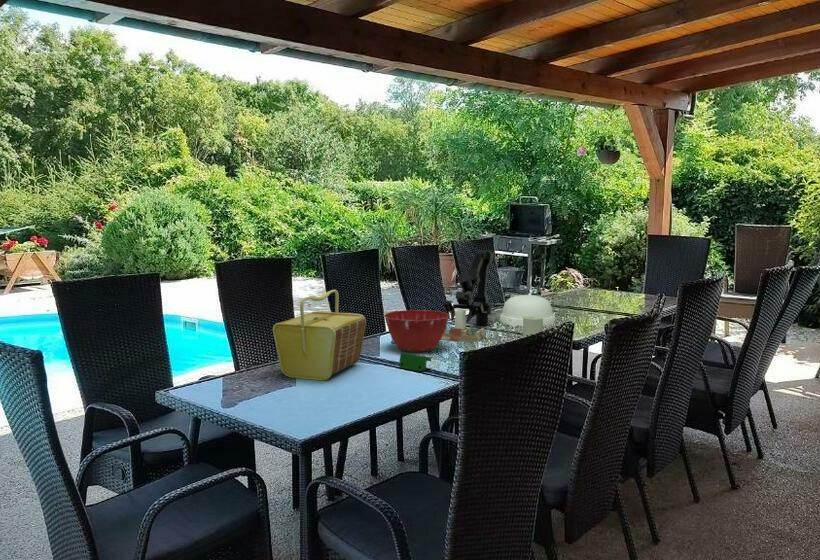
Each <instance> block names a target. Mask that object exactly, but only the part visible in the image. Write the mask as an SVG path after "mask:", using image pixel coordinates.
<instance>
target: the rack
mask: <svg viewBox="0 0 820 560" xmlns="http://www.w3.org/2000/svg"><path fill="white" fill-rule="evenodd" d="M472 330H473V329H472V327H471V326H470V327H469V326H468V327H466V330H464V331H462V329H459V328H455V327H450V328H449V330H448V333H447V327H446V328H445V331H444V333H443V335H442V338H441V340H440V341H447V342H449V341H450V342H458V341H466V342H465V343H469V342H477V341H479V340H480V341H482V340H483V339H485V328H484V327H481V329H479V330H477V331H476V332H474V335H472V334H473V333H472ZM482 338H483V339H482ZM481 339H482V340H481ZM480 341H479V342H480ZM477 343H478V342H477Z"/></svg>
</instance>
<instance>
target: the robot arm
mask: <svg viewBox="0 0 820 560" xmlns="http://www.w3.org/2000/svg"><path fill="white" fill-rule="evenodd" d="M493 260H494V253H493V252H492V251H491V250H476V251H475V252H474V256H473V260H472V262H471V265H470V267H469V269H468V270H467V271H463V272H462V273H460V274H459V275H458V276H457V282H458V284H459V286H460V289H461V291H456V292H455V299H456V302H457V303H454V302H453V301H452V300H444V301H443V308H444V310H445V312H446V313H448V312H449V313H450V320H451V322H454V321H455V311H456V310H455V309H459V310H468V314H467V317H466V324H467V323H469V322H470V321H471V320H472V319H473V318H474V317H475V323H473V324H472V325H473V326H477V327H487V326H488V325H489V326H491V324H489V317H488V315H491V314H492V308H491V305H490V303H489V298H488V296H487V287H488V277H489V276H488V274H489V267H491V265H492V263H493ZM475 286H477V292H476V295H475V296H474V294H475V289H476V288H475Z"/></svg>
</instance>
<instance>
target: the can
mask: <svg viewBox="0 0 820 560" xmlns="http://www.w3.org/2000/svg"><path fill="white" fill-rule="evenodd" d="M541 330H543V331H544V326H543V317H540V316H524V317H523V326H522V337H523V336H526V335H530V334H533V333H536V332H539V331H541Z"/></svg>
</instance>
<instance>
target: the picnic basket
mask: <svg viewBox="0 0 820 560" xmlns="http://www.w3.org/2000/svg"><path fill="white" fill-rule="evenodd" d="M333 293H334V294H335V300H334V301H335V302H334V304H335V305H334V306H335V307H334V312H333V311H320V310H319V311H318V310H317V311H310V312H309V313H306V314H305V309H304V305H305V302H306V301H309V300H311V301H313V302H320V301H323V300H325V299H327V298H328V297H329V296H330V295H331V294H333ZM339 297H340V296H339V291H338V290H337V289H331V290H329V291H327V292H325V293H323V294H322V295H319V296H307V297H304V298H302V299H301V300H300V304H299V312H300V313H299V314H300V316H296V317H293V318H290V319H288V320H284V321H282V322H276V323H275V324H274V325H273V327H272V334H273V338H274V343H275V347H276V351H277V352H276V353H277V357H278V363H279V366H280V371H281V373H283V375H284V376H287V377H289V378H293V379H303V380H311V381H312V380H314V381H326V380H329V379H330V378H331V376H333V375H335V374H337V373H340V372H341V371H342V370H345V369H347V368H349V367H350V366H351V365H356V364H358V362H360V359H361V354H362V347H363V341H364V337H365V331H366V326H367V319H366V317H365V316H364V315H363V314H361V313H351V312H350V313H349V312H339V302H340V301H339V299H340V298H339Z"/></svg>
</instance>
